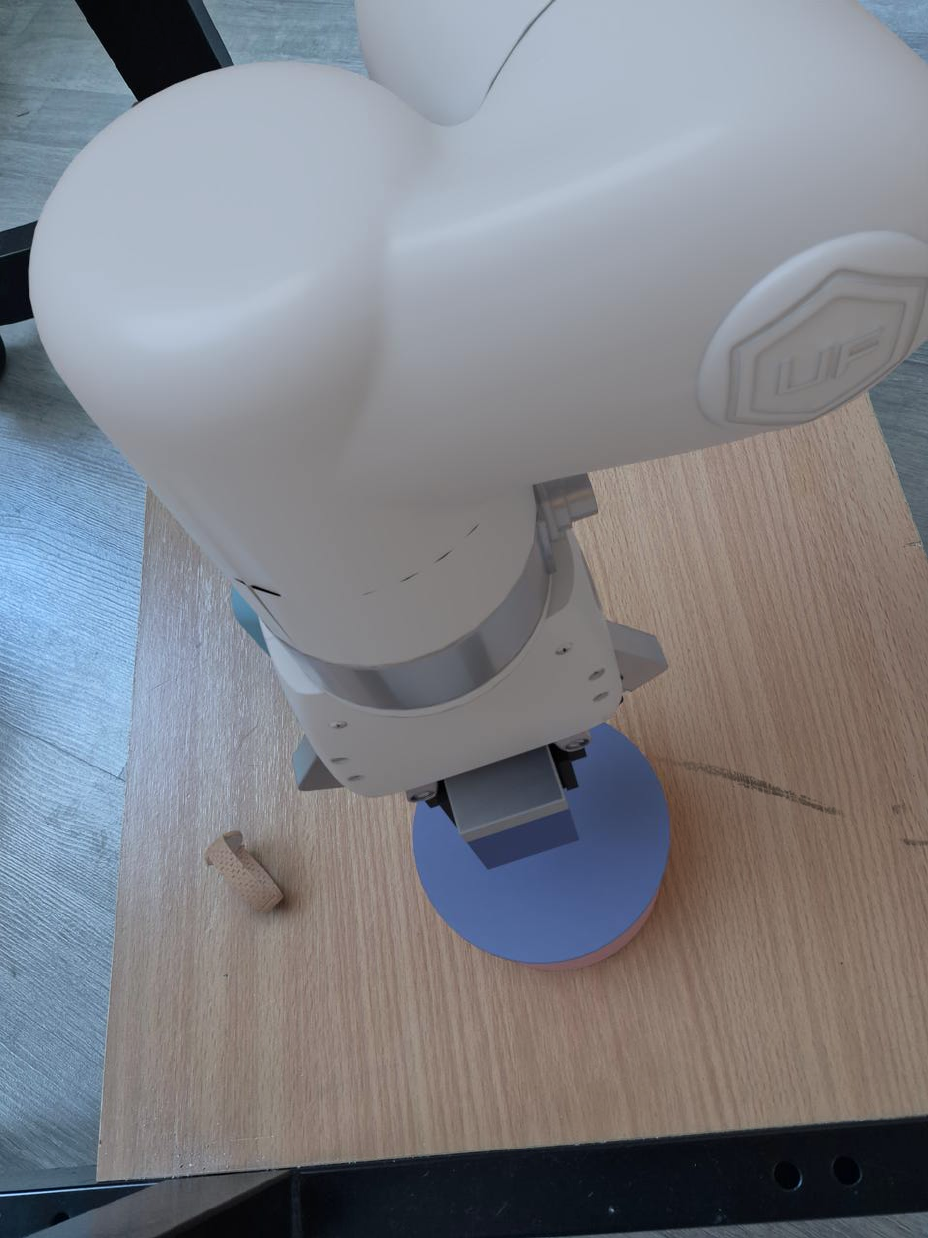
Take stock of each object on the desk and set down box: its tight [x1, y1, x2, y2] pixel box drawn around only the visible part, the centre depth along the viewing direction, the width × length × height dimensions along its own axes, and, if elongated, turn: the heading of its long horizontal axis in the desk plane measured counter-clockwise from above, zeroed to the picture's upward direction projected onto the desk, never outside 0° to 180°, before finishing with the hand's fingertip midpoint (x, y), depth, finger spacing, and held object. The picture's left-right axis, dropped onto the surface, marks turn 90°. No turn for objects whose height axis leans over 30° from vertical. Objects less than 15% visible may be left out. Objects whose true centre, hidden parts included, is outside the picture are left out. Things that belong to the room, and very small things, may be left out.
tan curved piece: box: [203, 829, 284, 915], centre depth 57 cm, size 3×5×5 cm, turn 43°
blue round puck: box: [411, 721, 671, 972], centre depth 54 cm, size 13×13×7 cm
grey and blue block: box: [444, 744, 579, 870], centre depth 40 cm, size 4×7×6 cm, turn 15°
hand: (506, 772), depth 42 cm, fingers closed on grey and blue block, 4 cm apart
